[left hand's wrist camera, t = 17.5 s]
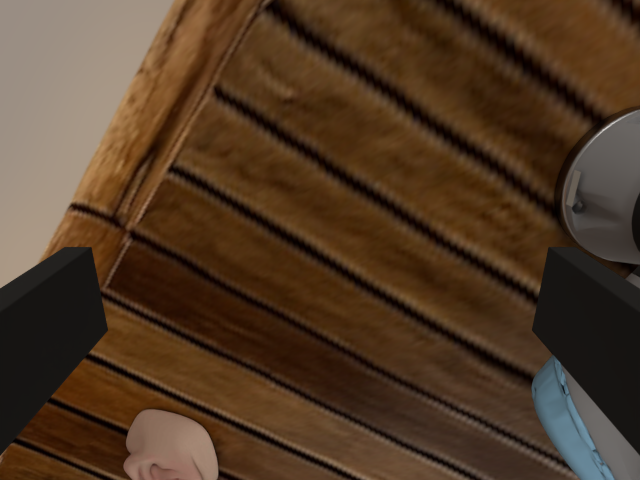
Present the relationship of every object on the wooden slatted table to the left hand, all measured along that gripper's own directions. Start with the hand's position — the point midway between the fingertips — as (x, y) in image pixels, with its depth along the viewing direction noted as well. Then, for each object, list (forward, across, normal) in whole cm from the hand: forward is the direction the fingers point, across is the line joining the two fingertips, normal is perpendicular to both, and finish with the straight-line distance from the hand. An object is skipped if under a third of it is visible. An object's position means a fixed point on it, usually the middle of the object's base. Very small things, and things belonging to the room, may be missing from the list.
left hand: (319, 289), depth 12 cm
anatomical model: (+31, -19, -38) cm, 53 cm away
